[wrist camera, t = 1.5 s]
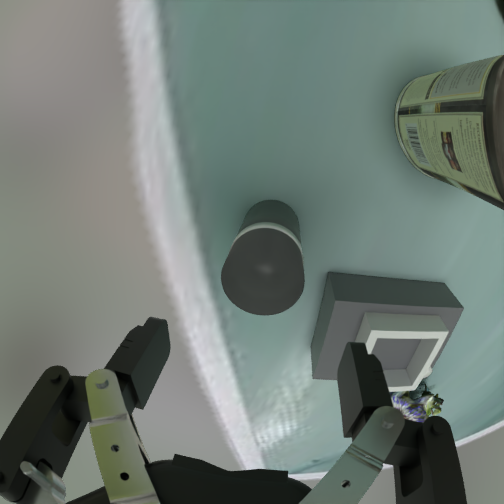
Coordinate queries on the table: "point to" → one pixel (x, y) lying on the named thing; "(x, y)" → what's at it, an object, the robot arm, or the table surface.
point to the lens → (265, 261)
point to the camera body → (384, 325)
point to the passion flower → (416, 405)
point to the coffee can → (457, 127)
